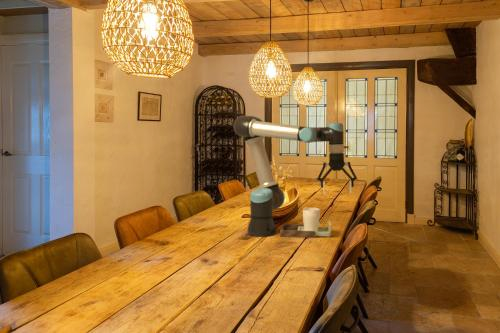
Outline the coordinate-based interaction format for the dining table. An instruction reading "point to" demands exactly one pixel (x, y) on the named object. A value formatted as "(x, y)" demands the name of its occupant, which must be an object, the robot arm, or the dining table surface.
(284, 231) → the dock
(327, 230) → the tray
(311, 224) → the cup
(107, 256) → the dining table surface
